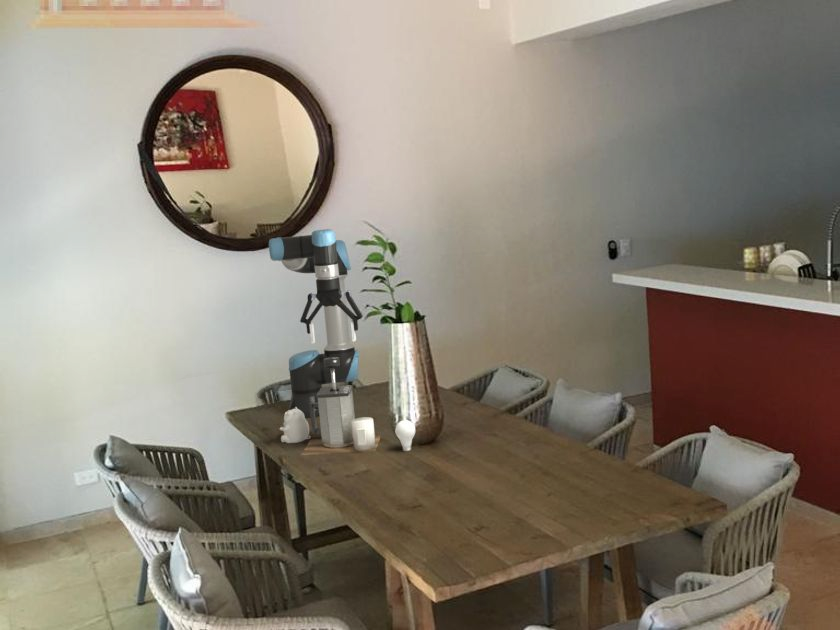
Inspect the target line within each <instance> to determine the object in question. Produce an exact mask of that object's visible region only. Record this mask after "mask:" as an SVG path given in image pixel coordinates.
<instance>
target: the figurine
mask: <svg viewBox="0 0 840 630" xmlns="http://www.w3.org/2000/svg"><path fill="white" fill-rule="evenodd" d="M295 408H296V409H292V410H289V409H288V410H287V411H285V412H284V416H283V421H284V422H283V424H282V425H283V426H280V428H278V429H279V431H282V432H283V435H281V437H280V441H281V443H286V444H296V443H301V442H304V441H306V440H311V435H310V425H309V421H308V420H307V418H306V417H305V416H304V413H303V412H302V411H301V410H299V409H297V407H295Z"/></svg>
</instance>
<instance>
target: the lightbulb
mask: <svg viewBox="0 0 840 630" xmlns="http://www.w3.org/2000/svg"><path fill="white" fill-rule="evenodd" d="M394 431H395V435H396V437H397V438H398V439H399V441H400V444H401V446H402V451H403V452H409V451H411V450H412V443H413V438H414V437H415V434H416V426H415V424H414V423H413V422H412V421H410V420H409V419H408V420H407V419H403V420H400V421H399V422H398V423H397V424H396V425H395V429H394Z"/></svg>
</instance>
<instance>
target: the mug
mask: <svg viewBox="0 0 840 630" xmlns="http://www.w3.org/2000/svg"><path fill="white" fill-rule="evenodd" d="M351 423H352V433H353V444H354V449H355V450H358V451H361V452H367V451H366V450H371V449H373V448H375V447H376V444H375V436H376V434H375V433H376V432H375V423H374V418H373V417H370V416H369V417H368V416H363V417H357V418H356V417H355V419H353V420H352V421H351Z"/></svg>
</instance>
